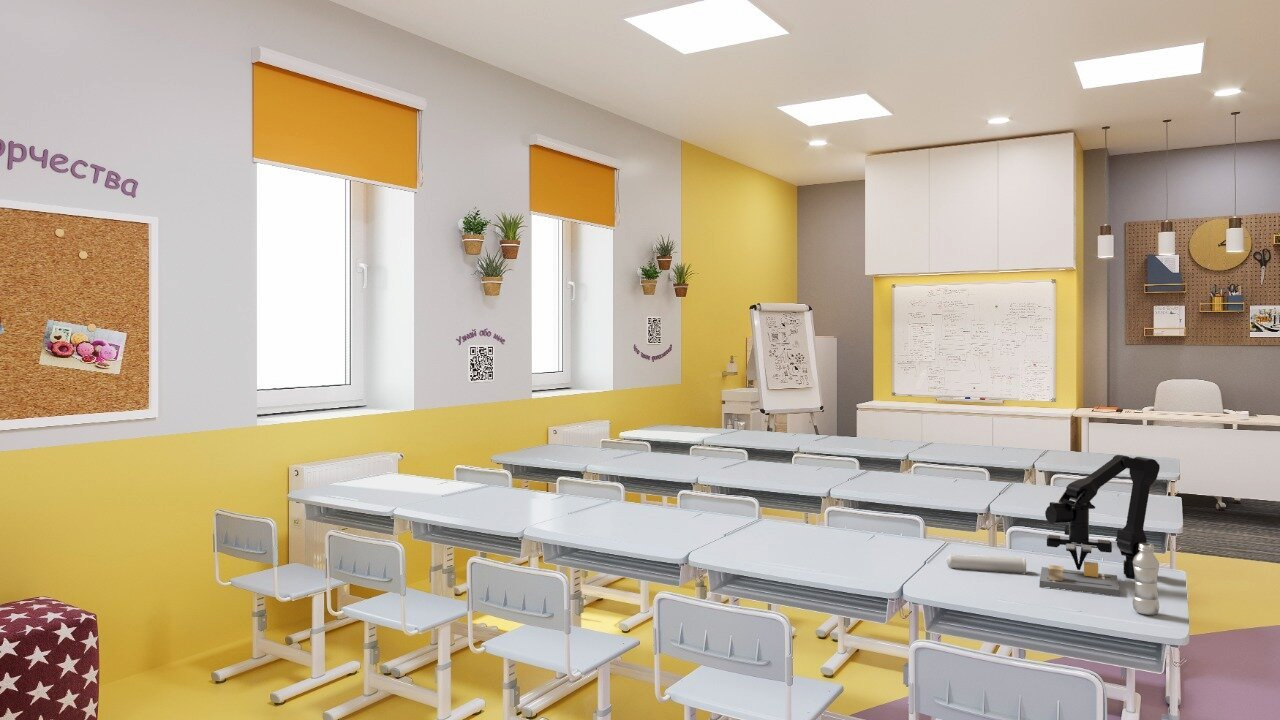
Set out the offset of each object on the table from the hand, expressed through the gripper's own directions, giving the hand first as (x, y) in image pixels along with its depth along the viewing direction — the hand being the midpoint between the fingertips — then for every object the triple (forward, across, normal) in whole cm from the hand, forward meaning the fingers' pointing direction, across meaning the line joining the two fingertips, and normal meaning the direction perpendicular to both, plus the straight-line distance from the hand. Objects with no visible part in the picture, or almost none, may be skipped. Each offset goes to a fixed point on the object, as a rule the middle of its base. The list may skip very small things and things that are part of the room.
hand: (1078, 569), depth 273 cm
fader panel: (+3, 0, +5) cm, 6 cm away
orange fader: (+1, -4, 0) cm, 4 cm away
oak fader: (+1, +6, +10) cm, 12 cm away
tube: (+4, +28, +1) cm, 28 cm away
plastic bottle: (+4, -17, +29) cm, 34 cm away
